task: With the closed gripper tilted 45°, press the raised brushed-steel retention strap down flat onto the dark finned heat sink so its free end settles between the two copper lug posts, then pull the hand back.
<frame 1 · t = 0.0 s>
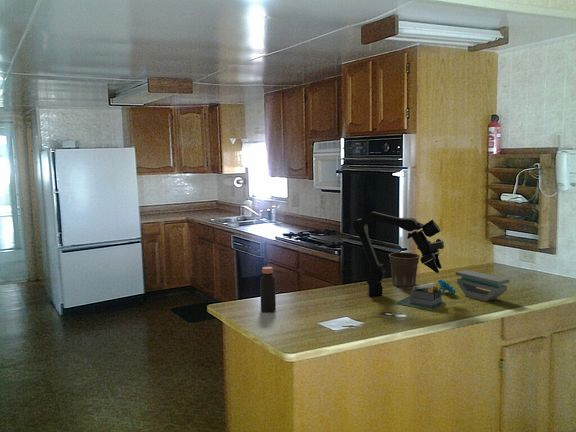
hand: (439, 270, 253), 15 cm above the countertop, tool tilted 35°, fingers open, 9 cm apart
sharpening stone: (481, 297, 261), on the countertop
plant pot: (404, 284, 288), on the countertop
bottle: (268, 311, 244), on the countertop
retention strap: (424, 286, 249), point 9 cm above the countertop, hinge at 18.7°, touching heatsink board
heatsink board: (425, 304, 250), on the countertop
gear: (446, 294, 269), on the countertop
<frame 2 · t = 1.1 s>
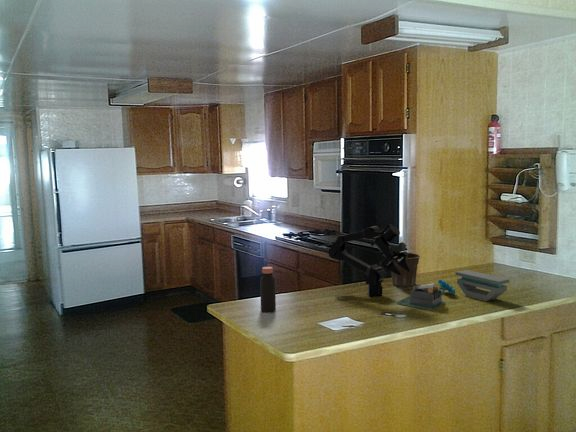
hand: (405, 273, 255), 13 cm above the countertop, tool tilted 45°, fingers open, 9 cm apart
retention strap: (424, 286, 249), point 9 cm above the countertop, hinge at 16.3°, touching heatsink board
everything else where it was.
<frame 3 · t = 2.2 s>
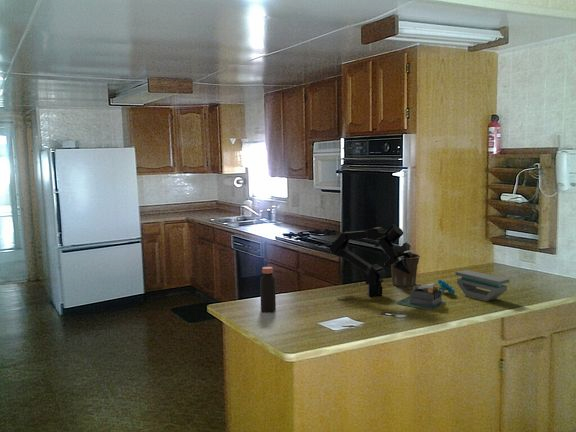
hand: (410, 273, 254), 14 cm above the countertop, tool tilted 45°, fingers closed
nothing on the countertop moved.
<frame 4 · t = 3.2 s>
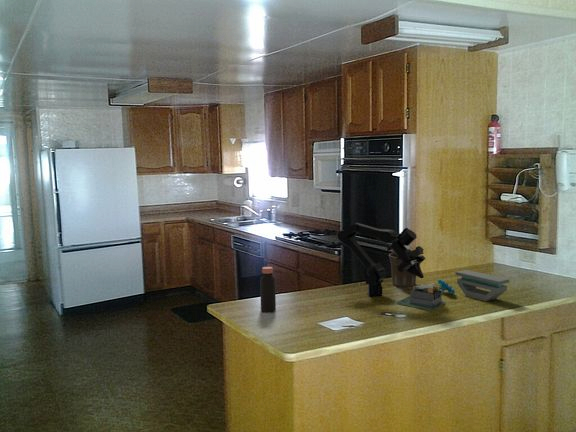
hand: (422, 277, 250), 13 cm above the countertop, tool tilted 45°, fingers closed
nothing on the countertop moved.
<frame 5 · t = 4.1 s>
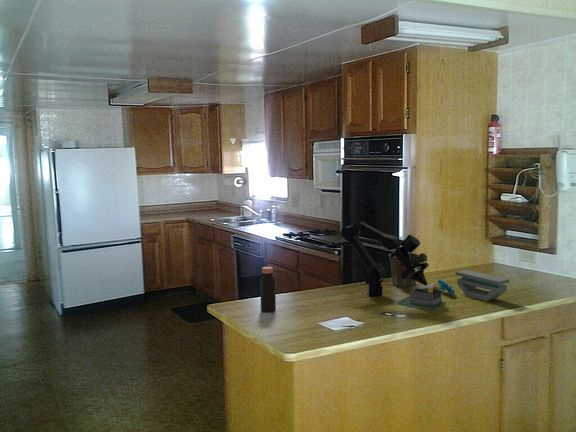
hand: (426, 284, 249), 9 cm above the countertop, tool tilted 45°, fingers closed, pressing on retention strap
retention strap: (424, 286, 249), point 9 cm above the countertop, hinge at 15.8°, touching gripper, heatsink board
everything else where it was.
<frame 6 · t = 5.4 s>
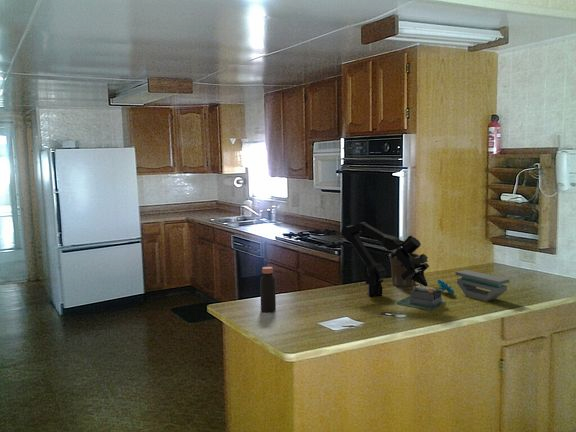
hand: (426, 285, 249), 9 cm above the countertop, tool tilted 45°, fingers closed
retention strap: (425, 288, 249), point 7 cm above the countertop, hinge at 0.8°, touching heatsink board
everything else where it was.
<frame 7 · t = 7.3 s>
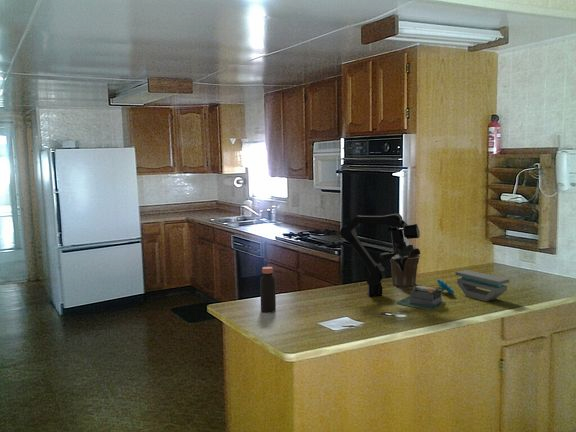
hand: (402, 271, 260), 13 cm above the countertop, tool pointing down, fingers closed
nothing on the countertop moved.
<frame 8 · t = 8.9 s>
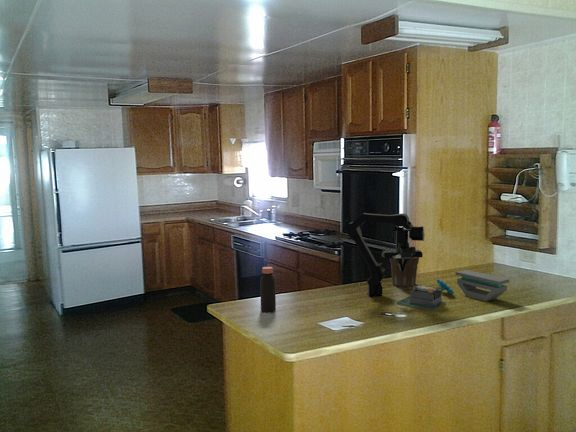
hand: (401, 271, 261), 13 cm above the countertop, tool pointing down, fingers closed
nothing on the countertop moved.
at the end: retention strap at +1° (first picture: +19°); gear moved 1.0 cm from its start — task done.
